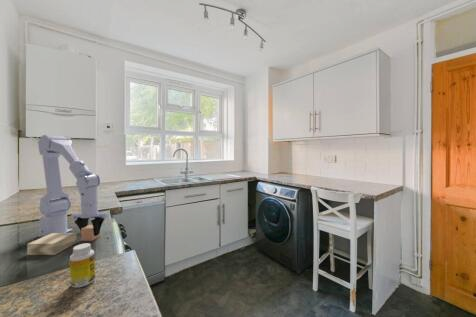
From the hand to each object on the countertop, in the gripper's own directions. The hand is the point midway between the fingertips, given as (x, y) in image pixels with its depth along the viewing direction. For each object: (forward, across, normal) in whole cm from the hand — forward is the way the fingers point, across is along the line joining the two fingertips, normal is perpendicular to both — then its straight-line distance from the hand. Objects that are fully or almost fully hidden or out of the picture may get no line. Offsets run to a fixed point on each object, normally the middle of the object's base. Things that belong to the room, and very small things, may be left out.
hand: (90, 235), depth 90 cm
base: (+2, -8, -9) cm, 12 cm away
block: (+1, 0, 0) cm, 1 cm away
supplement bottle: (+2, +20, -30) cm, 36 cm away
